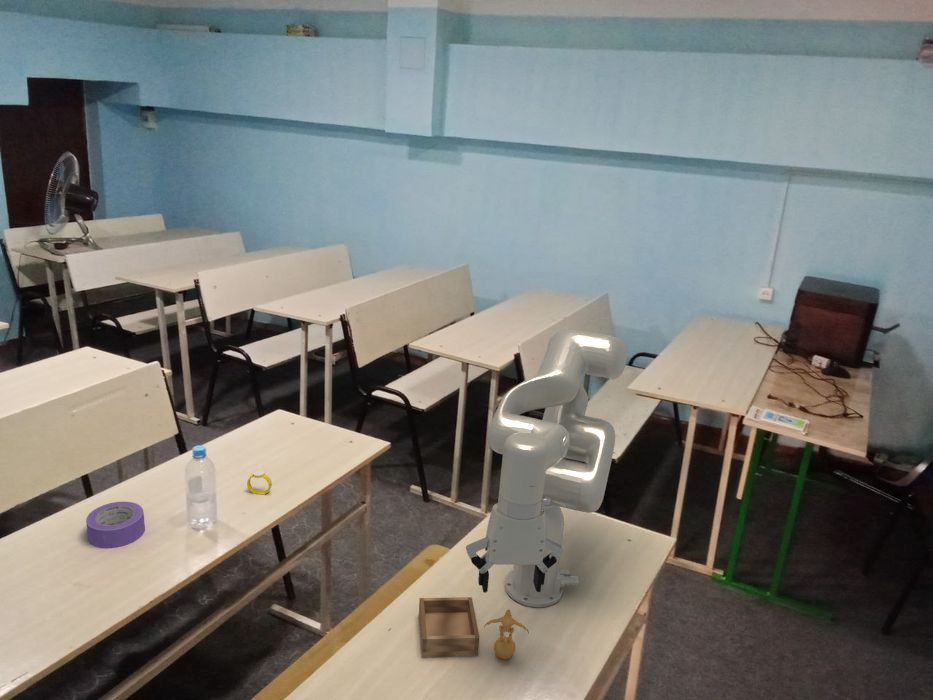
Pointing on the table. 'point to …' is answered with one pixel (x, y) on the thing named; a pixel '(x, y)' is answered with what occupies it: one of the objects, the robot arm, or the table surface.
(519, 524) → the robot arm
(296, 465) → the table surface
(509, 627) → the figurine
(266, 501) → the table surface
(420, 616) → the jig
